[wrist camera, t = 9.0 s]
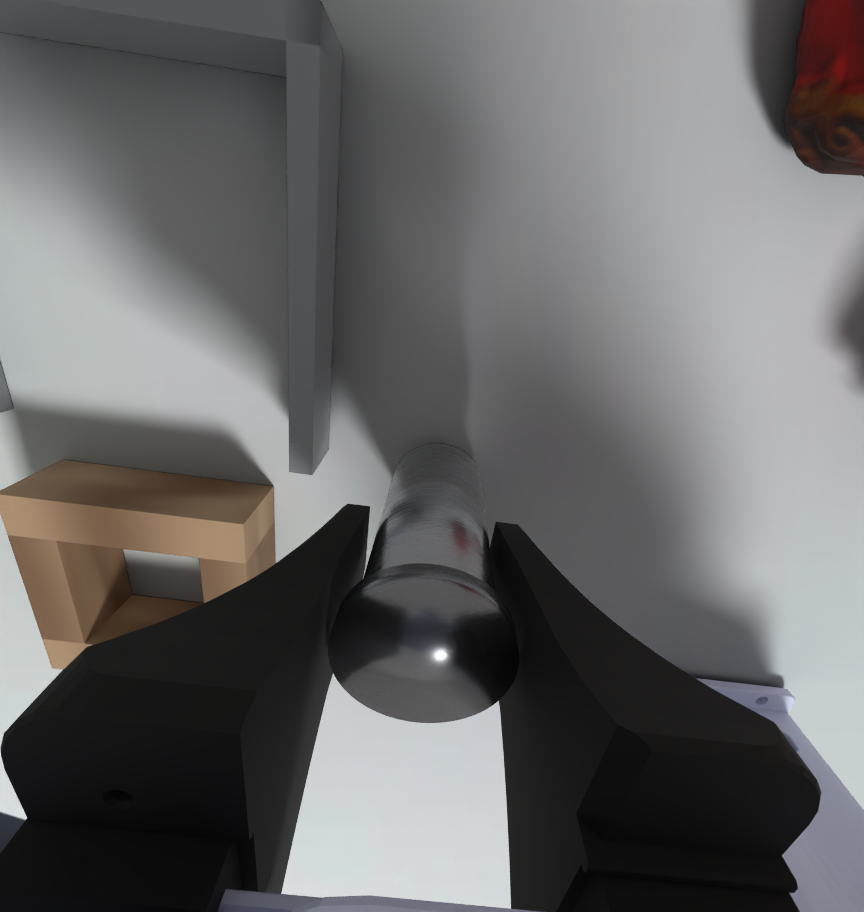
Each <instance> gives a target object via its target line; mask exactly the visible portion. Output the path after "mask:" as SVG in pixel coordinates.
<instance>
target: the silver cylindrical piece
mask: <svg viewBox="0 0 864 912" xmlns="http://www.w3.org/2000/svg"><path fill="white" fill-rule="evenodd" d="M328 658H329V663H330V666H331V669H332V671H333V673H334V675H335V677H336V679H337V680H338V682H339V683H340V684H341V686H342V687H343V688H344V689H345V690H346V691H347V692H348V693H349V694H350V695H351V696H352V697H353V698H355V699H356V700H357V701H359V702H360V703H362V704H363V705H365V706H366V707H368V708H370V709H372V710H374V711H376V712H379V713H381V714H384V715H386V716H389V717H393V718H396V719H400V720H405V721H411V722H420V723H439V722H449V721H455V720H459V719H463V718H467V717H470V716H472V715H475V714H477V713H480V712H482V711H484V710H486V709H487V708H489V707H491V706H492V705H494V704H495V703H496V702H497V701H499V700H500V699H501V698H502V697H503V696H504V695H505V694H506V693H507V692H508V690H509V689H510V687H511V686H512V684H513V682H514V680H515V678H516V676H517V672H518V668H519V650H518V644H517V638H516V631H515V625H514V621H513V618H512V615H511V613H510V611H509V608H508V606H507V605H506V603H505V602H504V601H503V599H502V598H501V597H500V596H499V595H498V594H497V593H496V591H495V589H494V581H493V573H492V564H491V556H490V548H489V540H488V532H487V523H486V515H485V507H484V499H483V491H482V482H481V476H480V472H479V470H478V467H477V465H476V464H475V462H474V461H473V460H472V459H471V457H469V456H468V455H467V454H466V453H465V452H463V451H462V450H460V449H458V448H456V447H453V446H450V445H446V444H427V445H423V446H420V447H417V448H415V449H413V450H412V451H410V452H409V453H407V454H406V455H405V456H404V457H403V458H402V459H401V461H400V462H399V464H398V465H397V467H396V470H395V473H394V476H393V480H392V483H391V486H390V490H389V493H388V497H387V500H386V503H385V507H384V510H383V514H382V517H381V520H380V524H379V527H378V531H377V534H376V537H375V541H374V544H373V548H372V551H371V554H370V558H369V561H368V565H367V568H366V571H365V575H364V578H363V580H361V581H360V582H359V583H358V584H356V585H355V586H354V587H353V588H352V589H351V590H350V591H349V592H348V594H347V595H346V596H345V598H344V599H343V601H342V603H341V605H340V607H339V610H338V613H337V616H336V619H335V622H334V625H333V627H332V630H331V633H330V636H329V641H328Z"/></svg>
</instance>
